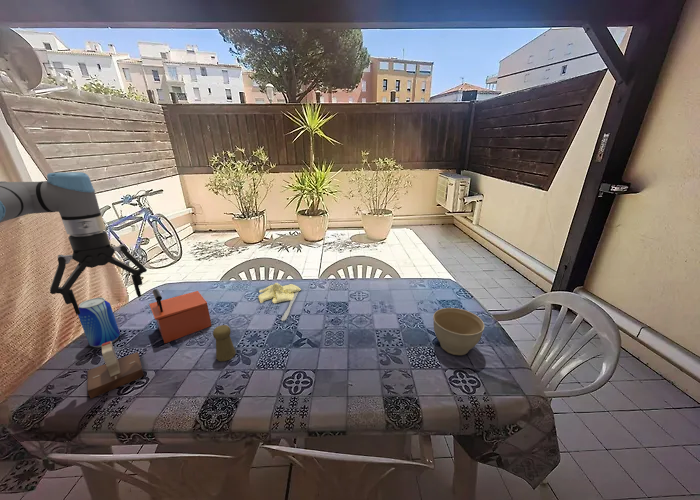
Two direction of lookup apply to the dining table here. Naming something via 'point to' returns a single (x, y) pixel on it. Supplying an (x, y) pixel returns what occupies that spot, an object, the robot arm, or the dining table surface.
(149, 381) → the dining table surface
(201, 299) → the box lid
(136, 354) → the brown flat block
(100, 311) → the beer can
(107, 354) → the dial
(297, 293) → the butter knife
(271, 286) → the cloth
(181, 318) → the orange box
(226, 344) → the cork
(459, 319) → the planter bowl
